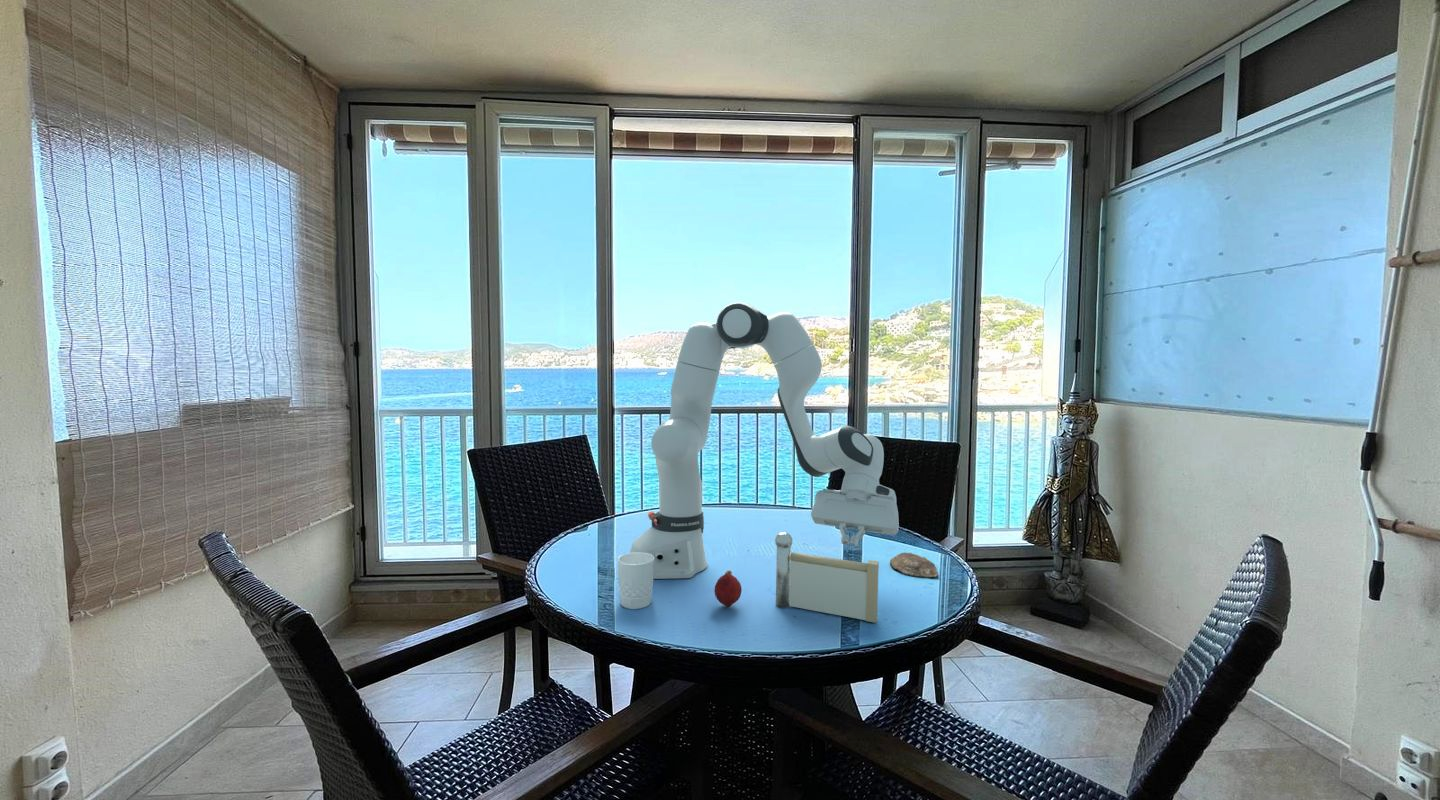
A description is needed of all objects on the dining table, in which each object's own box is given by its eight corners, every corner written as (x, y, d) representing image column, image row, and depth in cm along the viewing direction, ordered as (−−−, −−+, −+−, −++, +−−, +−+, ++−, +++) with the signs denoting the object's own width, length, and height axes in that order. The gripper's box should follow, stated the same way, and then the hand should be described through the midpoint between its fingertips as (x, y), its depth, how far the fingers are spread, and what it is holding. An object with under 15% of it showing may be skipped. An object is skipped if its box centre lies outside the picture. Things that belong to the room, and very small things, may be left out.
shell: (890, 576, 139) (891, 562, 138) (889, 559, 151) (889, 546, 150) (939, 581, 135) (939, 567, 135) (934, 563, 148) (934, 550, 147)
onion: (732, 615, 115) (732, 577, 114) (709, 608, 118) (709, 572, 117) (745, 605, 119) (746, 569, 119) (723, 599, 123) (723, 564, 122)
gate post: (777, 609, 118) (779, 535, 117) (771, 602, 121) (772, 530, 120) (794, 607, 119) (795, 534, 118) (787, 600, 122) (788, 529, 121)
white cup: (647, 612, 116) (647, 566, 115) (612, 608, 117) (612, 563, 116) (658, 597, 123) (658, 553, 123) (625, 593, 125) (625, 551, 124)
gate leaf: (789, 606, 118) (790, 552, 117) (791, 602, 120) (792, 549, 119) (875, 622, 111) (877, 564, 110) (877, 618, 113) (878, 561, 112)
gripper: (815, 481, 136) (802, 529, 128) (901, 491, 127) (893, 544, 119) (819, 495, 140) (807, 543, 132) (902, 506, 132) (895, 558, 123)
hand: (849, 543), depth 125 cm, fingers closed
